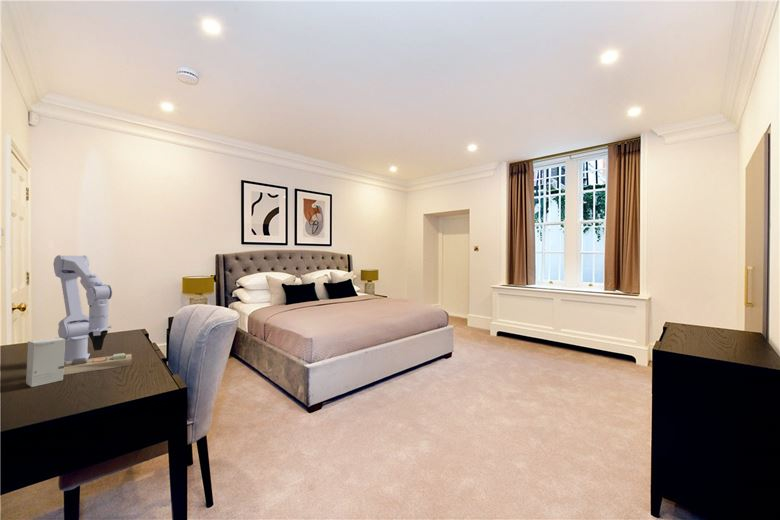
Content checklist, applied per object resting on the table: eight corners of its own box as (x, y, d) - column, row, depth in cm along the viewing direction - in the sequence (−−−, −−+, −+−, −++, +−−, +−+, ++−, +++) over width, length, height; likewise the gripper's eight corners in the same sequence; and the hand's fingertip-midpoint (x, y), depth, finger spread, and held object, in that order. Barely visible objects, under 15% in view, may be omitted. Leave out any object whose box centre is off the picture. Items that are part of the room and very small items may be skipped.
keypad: (66, 368, 129) (66, 361, 129) (131, 359, 141) (131, 353, 141) (62, 375, 122) (62, 368, 122) (131, 365, 134) (131, 359, 134)
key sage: (113, 359, 135) (113, 354, 135) (124, 358, 137) (124, 352, 137) (112, 362, 132) (113, 356, 132) (124, 360, 135) (124, 355, 135)
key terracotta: (93, 364, 132) (93, 359, 131) (105, 363, 134) (105, 357, 134) (92, 367, 129) (93, 361, 129) (105, 365, 131) (105, 360, 131)
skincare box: (31, 387, 110) (31, 343, 110) (25, 383, 113) (26, 340, 113) (65, 380, 117) (65, 338, 117) (58, 376, 120) (59, 335, 120)
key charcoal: (73, 364, 128) (73, 359, 128) (85, 363, 130) (85, 357, 130) (71, 367, 125) (71, 361, 125) (84, 365, 127) (84, 360, 127)
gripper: (110, 318, 128) (110, 352, 128) (112, 312, 139) (111, 344, 139) (86, 319, 123) (85, 355, 123) (90, 313, 135) (89, 346, 135)
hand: (97, 349), depth 131 cm, fingers closed
